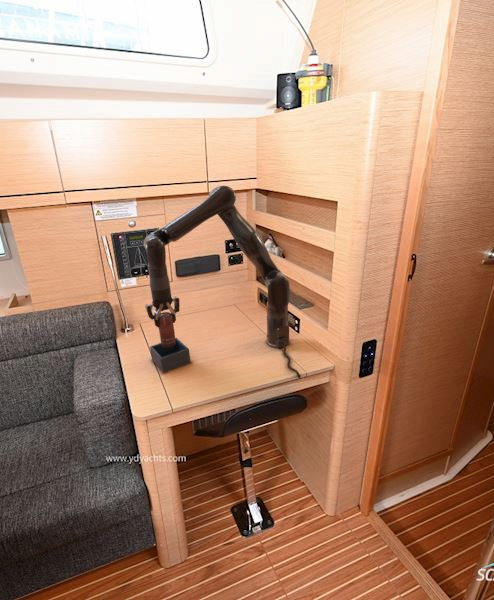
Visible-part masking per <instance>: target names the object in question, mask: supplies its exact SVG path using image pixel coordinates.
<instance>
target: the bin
mask: <svg viewBox="0 0 494 600" xmlns="http://www.w3.org/2000/svg"><path fill="white" fill-rule="evenodd" d="M175 339H176V344H175V345H174V346H173V347H171V348H164V347H163V346H162V345H161V342H159V343H156V344H153V345H150V346H149V350H150V355H151V361H152V362H153V363H154V364H155V366H156V367H157V368H158V369H159V370H160V371H161V373H162V374H165V373H168V372H170V371H173V370H175V369H178V368H181V367H183V366H186V365H188V364H191V353H190V348H189V347H188V346H186V345H185V344H184V343H183V342H182V341H181V340H180V339H179V338H178V337H175Z"/></svg>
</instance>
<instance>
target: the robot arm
mask: <svg viewBox="0 0 494 600" xmlns="http://www.w3.org/2000/svg"><path fill="white" fill-rule="evenodd" d="M236 201H237V195H236V192H235V190H234V188H232V187H230V186H229V185H219V186H216V187H214V188H212V189H211V190H210V191H209V193H208V197H207V198H206V199H205V200H204V201H202V202H201V203H200V204H198V205H196V206H195V207H194V208H191V209H189V210H188V211H186V212H184V213H182V214H181V215H179V216H177V217H176V218H174V219H173V220H171V221H170V222H168V223H167V224H166V225H165V226H162V227H161V228H158V229H156V230H155V231H153V232H151V233H150V234H148V235H147V236H145V238H144V240H143V247H144V249H145V251H146V256H147V261H148V264H147V270H148V276H149V288H150V292H151V298H152V301H151V303H150V304H147V303H146V304H145V305H144V306H145V310H146V313H147V316H148V318H149V319H150V320H153V323H154V325H155V327H156V328H158V329H159V327H160V324H159V319H158V317H159V315H160V313H162V312H165V311H169V313H171V315H172V318H173V324H175V323H176V322H177V317H176V314H177V313H179V312H180V297H177V296H173V297H172V291H171V283H170V278H169V274H168V273H169V272H168V267H167V261H166V260H167V254H166V246H167V245H169V244H170V243H175V242H178V241H179V240H180V239H182V238H183V237H185V236H187V235H188V234H189V233H191V232H192V231H194V230H195V229H196V228H198V227H199V226H200V225H202V224H204V222H206V221H208V220H209V219H211V218H213V217H214V216H217V215H218V217H219V218H220V219H221V221H222V222H223V223H224V224H225V226H226V227H227V229H228V231H229V233H230V234H231V236H232V238H233V240H234V241H235V243H236V245H237V246H238V247H239V249H240V250H241V252H242V253H243V255H244V256H245V257H246V258H247V260H249V262H250V263H251V264H252V265H253V266H254V267H255V268H256V269H257V271H258V273H259V274H260V277H261V278H262V281H263V282H264V285H265V288H266V289H267V302H266V342H267V345H268V346H270V347H273V348H276V349H281V348H283V351H282V354H283V355H284V357H285V358H287V364H286V365H287V368H288V369H289V370H290V371H292V372H294V373H295V374H296V376H297V378H298V379H301V375H300V373H299V371H298V370H297V369H295V368H293V367H291V357H290V356H289V355H287V353H286V350H287V346H288V345H290V324H289V316H288V315H289V304H290V294H291V293H290V291H291V288H290V281H289V278H288V277H287V276H286V275H285V274H284V273H283V272H282V271H281V270H280V268H278V266H277V264H276V263H275V262H274V261H273V260H272V258H271V255H270V253H269V251H268V249H267V247H266V245H265V242H264V241H263V239H262V237H261V236H260V234H259V233H258V232H257V230H256V229H255V228H254V226H253V225H252V224H251V223H249V221H247V220H246V219H245V218H244V217H243V215H242V214H241V213H240V212H239V210H238V208H237V206H236V205H235V203H236ZM172 303H173V306H172ZM173 307H174V308H173ZM153 308H154V311H153ZM153 312H154V313H153Z"/></svg>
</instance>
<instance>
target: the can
mask: <svg viewBox="0 0 494 600" xmlns="http://www.w3.org/2000/svg"><path fill="white" fill-rule="evenodd" d="M158 319H159V324H160V327H159V328H158V332H159V338H160V343H161V345H162V346H163V347H164V348H171V347H173V346H174V345H175V344H176V339H175V338H176V333H175V325H174V323H173V318H172V315H171V312H170V311H162V312H161V313H160V315H159V317H158Z"/></svg>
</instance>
